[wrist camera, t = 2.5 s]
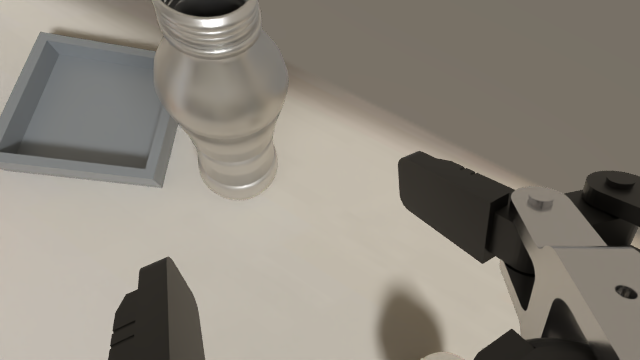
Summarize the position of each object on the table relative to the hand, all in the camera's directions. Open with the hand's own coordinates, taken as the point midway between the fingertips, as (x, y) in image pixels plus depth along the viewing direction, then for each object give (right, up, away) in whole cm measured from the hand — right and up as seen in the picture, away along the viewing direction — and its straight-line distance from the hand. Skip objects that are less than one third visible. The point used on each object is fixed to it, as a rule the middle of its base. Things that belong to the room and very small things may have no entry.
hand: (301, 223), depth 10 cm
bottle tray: (-19, +7, +19) cm, 28 cm away
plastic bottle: (-7, +2, +19) cm, 21 cm away
